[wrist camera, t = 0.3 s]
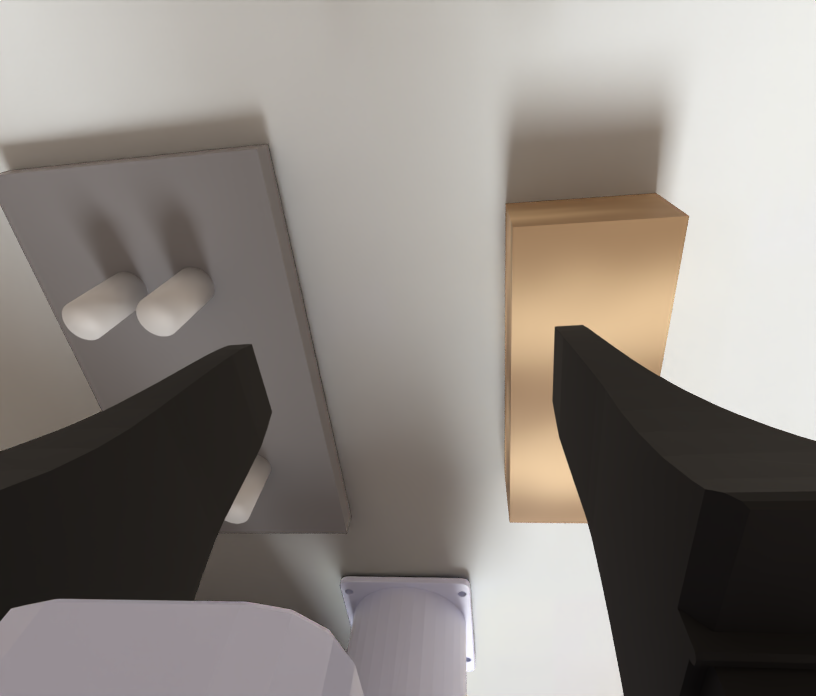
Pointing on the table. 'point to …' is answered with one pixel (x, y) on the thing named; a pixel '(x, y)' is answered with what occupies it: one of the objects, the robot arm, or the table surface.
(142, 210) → the peg stand
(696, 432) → the robot arm
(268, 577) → the table surface
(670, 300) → the shelf board
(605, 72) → the table surface
